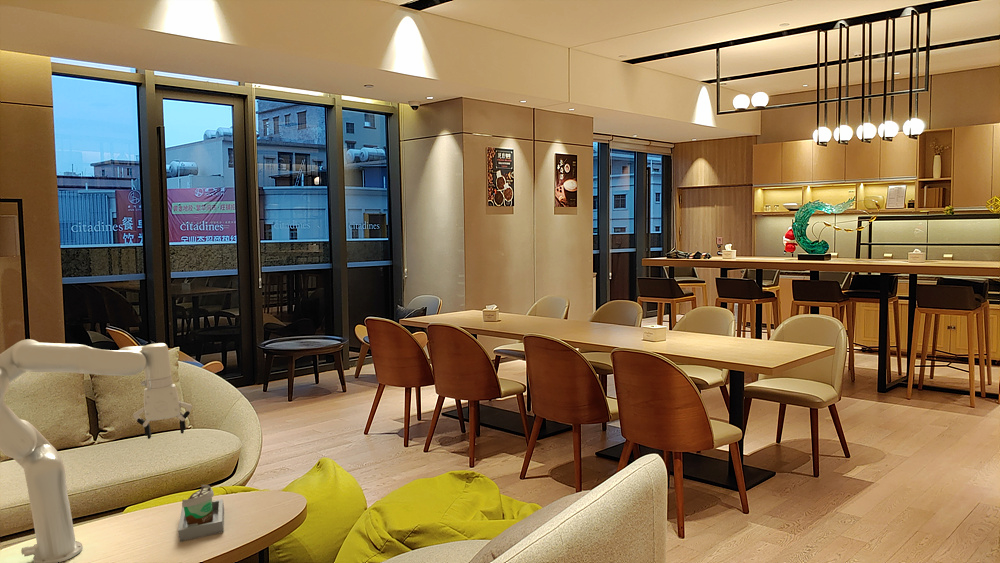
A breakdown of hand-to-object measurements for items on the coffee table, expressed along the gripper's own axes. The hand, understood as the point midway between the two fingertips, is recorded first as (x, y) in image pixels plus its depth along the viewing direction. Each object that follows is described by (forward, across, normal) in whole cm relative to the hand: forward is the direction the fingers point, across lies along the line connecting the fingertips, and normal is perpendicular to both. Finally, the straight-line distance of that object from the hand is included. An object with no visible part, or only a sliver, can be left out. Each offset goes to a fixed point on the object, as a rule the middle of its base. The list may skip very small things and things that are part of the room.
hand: (166, 434), depth 234 cm
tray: (+28, +8, -9) cm, 31 cm away
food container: (+28, +9, -10) cm, 30 cm away
